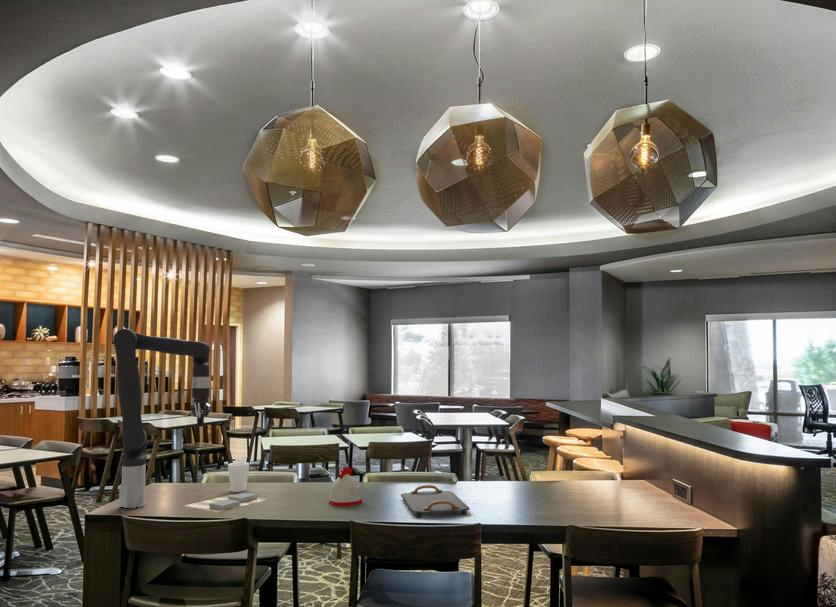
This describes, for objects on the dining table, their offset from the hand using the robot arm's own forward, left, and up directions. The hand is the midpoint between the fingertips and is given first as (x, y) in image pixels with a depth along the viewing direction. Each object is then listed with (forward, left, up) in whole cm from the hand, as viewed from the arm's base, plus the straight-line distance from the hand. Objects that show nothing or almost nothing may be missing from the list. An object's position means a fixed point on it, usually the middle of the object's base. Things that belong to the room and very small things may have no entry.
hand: (200, 426), depth 283 cm
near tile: (-6, -20, -30) cm, 36 cm away
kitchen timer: (+29, -59, -32) cm, 73 cm away
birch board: (0, -18, -32) cm, 37 cm away
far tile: (+7, -16, -30) cm, 35 cm away
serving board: (+41, -96, -33) cm, 109 cm away
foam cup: (+20, -2, -32) cm, 38 cm away
